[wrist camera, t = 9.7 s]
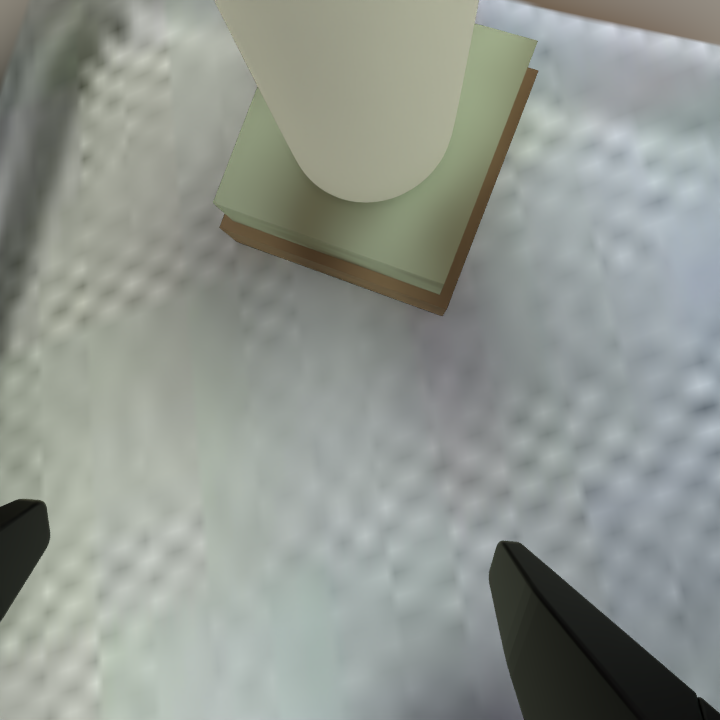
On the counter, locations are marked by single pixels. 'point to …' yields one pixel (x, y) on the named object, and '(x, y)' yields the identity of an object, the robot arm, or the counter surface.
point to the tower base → (393, 216)
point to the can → (358, 84)
